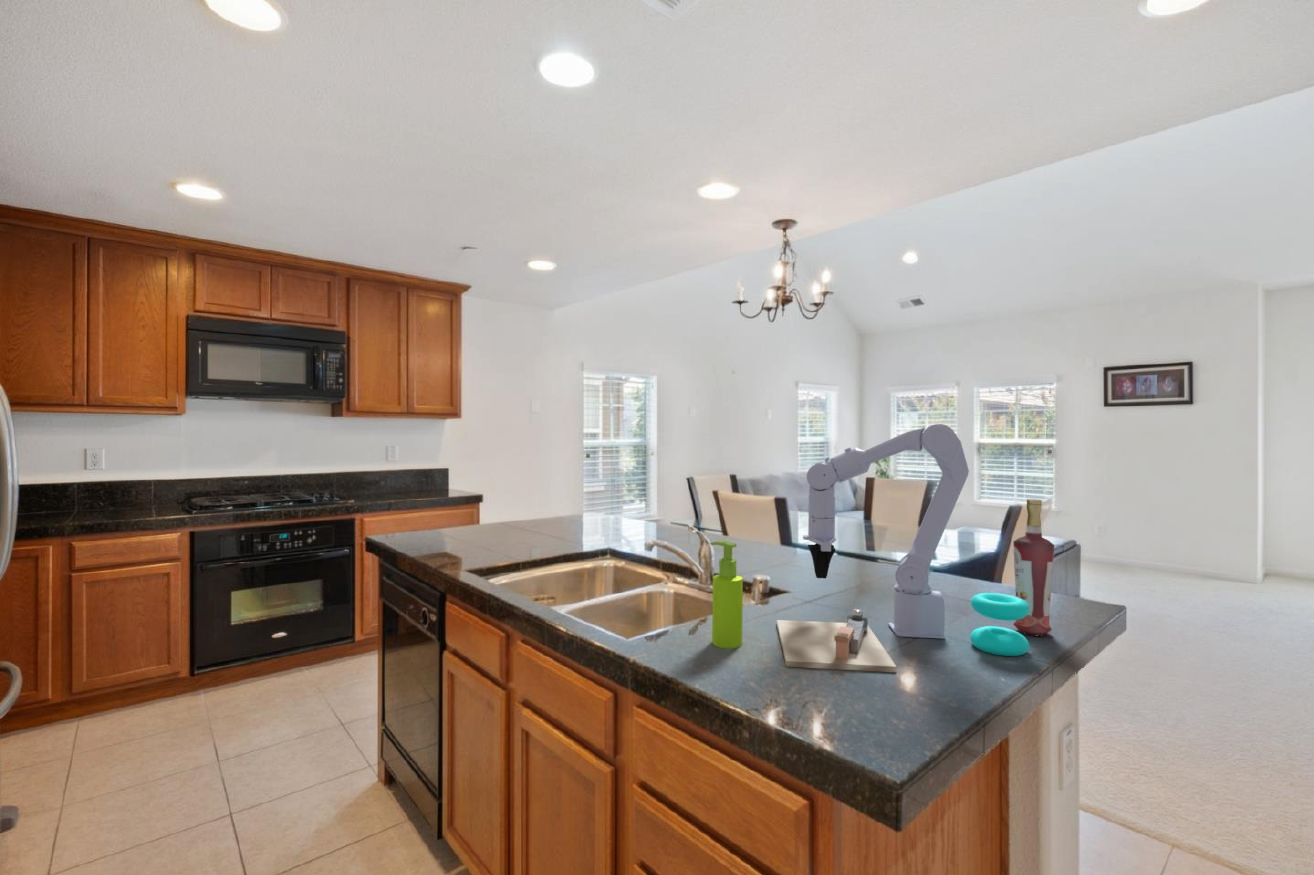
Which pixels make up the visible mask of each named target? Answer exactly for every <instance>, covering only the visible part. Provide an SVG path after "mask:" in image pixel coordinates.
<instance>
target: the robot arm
mask: <svg viewBox="0 0 1314 875" xmlns="http://www.w3.org/2000/svg"><path fill="white" fill-rule="evenodd" d="M959 438H960V437H958V436H957V434H956V432H955V431H954V430H953V428H952V427H950V426H948V425H946V424H944V423H943V424H942V423H934V424H931V425H929V426H927V428H926V427H923V428H922V427H921V428H917V429H913V430H910V431H906V432H903V433H901V434H900V435H899V434H898V435H897V436H894V437H893V438H891V439H888V440H886V441H884V442H881V443H880V444H877V445H875V446H873V447H871V448H868V449H865V450H864V449H861V448H858V447H854V448H853V449H852V447H848V448H845V449H844V452H843V453H840V454H838V455H836V456H832V457H829V456H828V457H826V458H824V462H822V463H821V462H817V463H815V464H813V465H812V466H811V467H809V469H808V470H807V473H806V481H807V483H808V486H809V490H808V493H809V495H808V528H807V530H808V531H807V532H808V534H807V535H802V539H803V540H805V541H810V542H812V543H813V544H807V548H808V550H809V553H810V555H811V558H812V563H813V564H812V565H813V569H814V575H815V578H816V579H827V578H828V575H829V574H828V572H829V568H830V564H831V560H832V558H833V556H834V554H835V553H836V548H835V546H834V543H835V542H836V540H837V539H836V538H837V537H836V536H835V535H836V497H835V485H836V483H843V482H846V481H849V480H850V479H853V478H856V477H859V476H861V475H863V474H866V473H867V472H869V469H870V466H871V465H872V464H873V463H876V462H879V461H880V460H884V459H887V458H889V457H892V456H894V455H895V456H896V455H897V454H899V453H902V452H905V451H914V452H922V451H923V448H924V450H925V451H926V452H927V453H928V454H930V456H931V457H932V458H934V460H935V462H936V463H937V465H938V467H939V469H940V471H941V472H942V474H941V477H940V479H939V481H938V484H937V486H936V487H935V488H936V489H935V491H934V493H933V496H932V497H931V500H930V503H929V505H928V507H927V509H926V512H925V514H924V516H923V519H922V521H921V524H920V526H919V529H918V530H917V533H916V535H915V538H914V540H913V542H912V544H911V547H910V550H909V551H908V553H906V555H904V556H903V557H902V558H901V559H900V561H899V562H898V566H897V569H896V571H895V573H894V577H895V581H896V583H895V585H894V593H893V594H894V600H893V602H894V604H893V608H894V609H893V611H894V612H893V613H894V614H893V622H888V624H887V625H888V626H889V627H890V629H891V630H892V631H893V632H894V633H895V635H896V637H901V638H927V639H946V635H945V623H946V622H945V621H946V620H945V619H946V618H945V612H946V611H945V610H946V607H945V599H944V596H943V594H942V592H941V591H939V590H933V589H932V587H931V586H930V585H929V576H930V574H931V568H930V567H931V563H932V561H933V557H934V555H935V552H936V550H937V549H938V545H939V544H940V541H941V539H942V537H943V534H944V531H945V529H946V528H947V524H948V522H949V520H950V518H951V515H952V513H953V511H954V508H955V507H956V503H957V501H958V499H959V497H960V495H961V493H962V490H963V488H964V486H965V483H966V481H967V478H968V476H969V471H970V470H969V466H968V462H967V459H966V455H965V452H964V448H963V445H962V441H961V440H960V439H959Z"/></svg>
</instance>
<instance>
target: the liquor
mask: <svg viewBox="0 0 1314 875" xmlns="http://www.w3.org/2000/svg"><path fill="white" fill-rule="evenodd" d="M1042 502H1043V501H1042V499H1037V498H1036V499H1035V498H1034V499H1033V498H1028V499H1027V498H1026V510H1027V511H1026V512H1027V519H1026V528H1025V534H1024V536H1020V537H1018V538H1017V539H1015V540H1013V567H1014V569H1013V570H1014V571H1013V572H1014V584H1015V585H1014V588H1015V591H1014V592H1015V597H1018V598H1021V599H1023V600H1024V601H1025V602H1026V603H1027V604H1028V605H1029V608H1030V611H1029V613H1028V615H1027V616H1026V617H1024V618H1022V619H1019V620H1014V622H1013V626H1014V627H1015V628H1016V630H1018V632H1019V633H1021V632H1022V633H1021V634H1023V633H1025V634H1024V635H1026V634H1028V635H1027V636H1031V635H1038V636H1037V637H1042V636H1041V635H1044V636H1046V635H1047V634H1048V633H1050V632H1052V630H1053V629H1052V627H1051V626H1050V615H1051V614H1050V611H1051V610H1050V609H1051V593H1052V582H1053V581H1052V580H1053V571H1054V554H1055V552H1054V551H1055V544H1054V543H1052V542H1051V541H1050V540H1048V539H1046V538H1045V537H1043V532H1042V521H1041V512H1042Z"/></svg>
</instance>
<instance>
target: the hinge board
mask: <svg viewBox="0 0 1314 875" xmlns="http://www.w3.org/2000/svg"><path fill="white" fill-rule="evenodd" d="M846 625H847V622H834V621H833V622H831V621H829V622H828V621H814V620H813V621H809V620H806V621H805V620H790V619H789V620H788V619H786V620H785V619H784V620H783V619H776V626H777V628H776V629H777V631H778V636H779V641H780V645H781V650H782V653H783V658H784V663H785V666H786V667H787V668H789V667H790V668H808V669H826V670H827V669H828V670H844V671H845V670H847V671H865V672H867V671H868V672H881V673H882V672H884V673H886V672H888V673H897V665H896V664H895V662H894V661H893V659H892V658H891V657H890V655H889V653H888V651H886V649H885V648H884V646H883V645H882V643H881V642H880V640H879V639H878V638H877V636H876V635H875V633H874V631H872V628H870V626H869V625H868V631H867V632H865V633H864V635H863V639H862V642H861V645H860V648H859V651H858V653H852V652H849V657H848V659H847V660H846V659H841V658H836V641H834V635H835V634H836V632H837V631H838V629H839V628H840V627H841V626H842V627H846Z"/></svg>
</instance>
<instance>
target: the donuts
mask: <svg viewBox="0 0 1314 875" xmlns="http://www.w3.org/2000/svg"><path fill="white" fill-rule="evenodd" d="M970 605H971V607H972V609H973V610H974V611H975V612H977V614H979V615H981V616H984V617H986V618H989V619H993V620H998V621H1005V622H1006V621H1008V622H1009V621H1016V620H1019V619H1022V618H1024V617H1026V616H1027V615H1028V613H1029V611H1030V608H1029V605H1028V604H1027V603H1026V602H1025V601H1024V600H1023V599H1021V598H1018V597H1016V595H1010V594H1005V593H1000V592H981V593H980V592H979V593H976V594H975V595H974V596H972V598H971V599H970ZM969 639H970V642H971V643H972V645H973V646H974V647H976V648H977V649H979V651H980V650H981V651H982V652H985V653H988V654H993V655H998V656H1004V657H1019V656H1022V655H1025V654H1026V653H1027V652H1028V651H1029V649H1030V644H1029V641H1028V639H1027V638H1026V637H1025V636H1024V634H1023V633H1021V632H1019V631H1016V630H1013V629H1011V628H1007V627H1002V626H995V625H993V626H992V625H989V626H987V625H985V626H981V627H977V628H976V629H974V630H973V631H972V632H971V633H970V637H969Z"/></svg>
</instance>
